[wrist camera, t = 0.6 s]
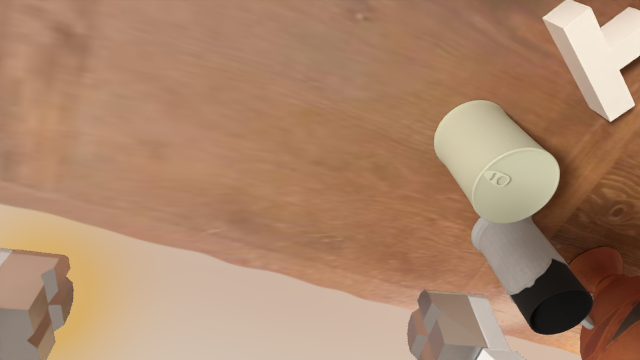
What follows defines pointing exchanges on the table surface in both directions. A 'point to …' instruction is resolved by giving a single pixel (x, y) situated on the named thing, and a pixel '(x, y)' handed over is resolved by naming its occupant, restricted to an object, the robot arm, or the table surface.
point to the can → (495, 162)
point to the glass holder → (534, 275)
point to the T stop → (597, 53)
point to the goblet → (609, 306)
